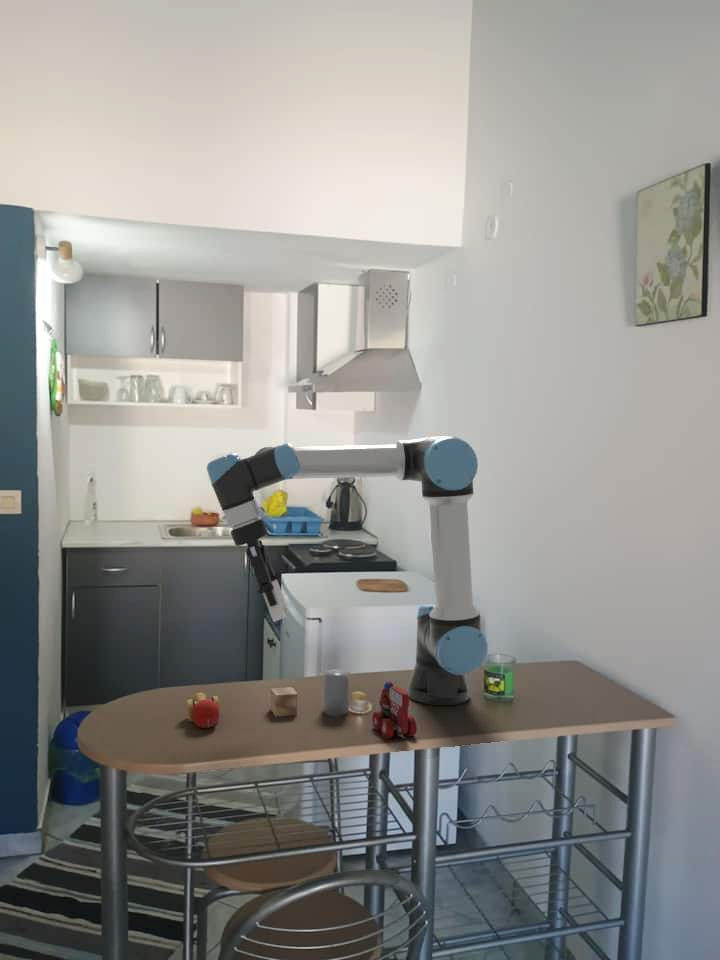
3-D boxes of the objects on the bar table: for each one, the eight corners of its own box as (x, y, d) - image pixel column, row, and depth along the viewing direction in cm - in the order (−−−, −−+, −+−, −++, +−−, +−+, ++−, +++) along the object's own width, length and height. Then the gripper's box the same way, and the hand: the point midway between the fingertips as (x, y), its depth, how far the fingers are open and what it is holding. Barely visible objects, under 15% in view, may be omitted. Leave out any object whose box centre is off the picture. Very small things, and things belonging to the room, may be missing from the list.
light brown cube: (291, 708, 195) (291, 687, 195) (296, 715, 191) (297, 693, 190) (270, 709, 194) (270, 688, 194) (275, 717, 189) (276, 695, 189)
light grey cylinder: (347, 707, 197) (349, 669, 197) (349, 715, 191) (350, 677, 191) (322, 706, 197) (323, 669, 196) (322, 715, 191) (324, 676, 190)
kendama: (179, 711, 194) (185, 728, 177) (184, 684, 195) (191, 697, 178) (212, 716, 196) (221, 732, 179) (217, 688, 197) (227, 702, 180)
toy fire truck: (396, 721, 189) (398, 675, 189) (419, 740, 178) (421, 692, 177) (367, 724, 187) (369, 678, 186) (389, 744, 175) (391, 695, 175)
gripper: (234, 525, 196) (267, 610, 196) (224, 534, 171) (261, 631, 171) (264, 514, 196) (297, 598, 197) (258, 521, 171) (295, 617, 172)
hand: (280, 614), depth 184 cm, fingers open, 13 cm apart
